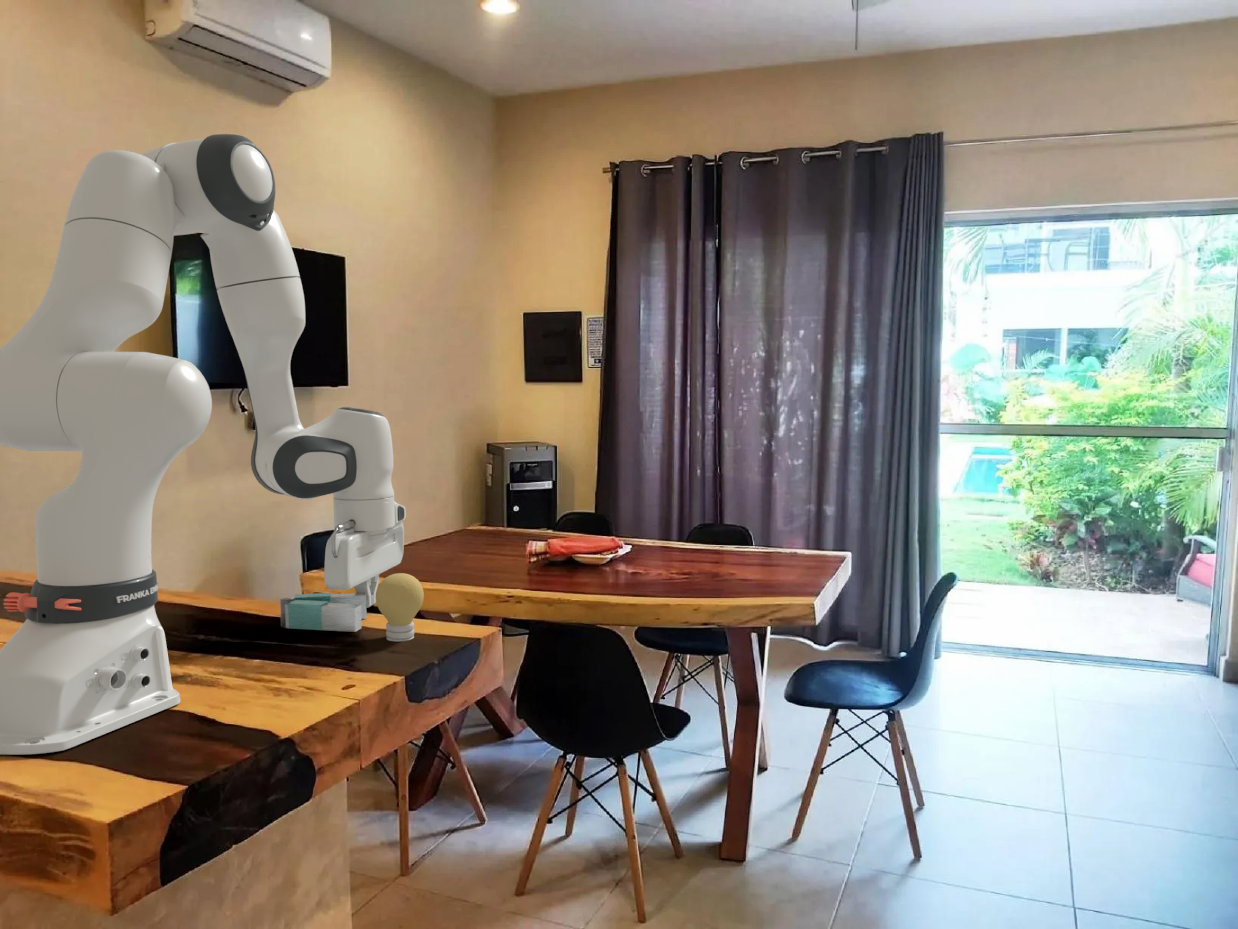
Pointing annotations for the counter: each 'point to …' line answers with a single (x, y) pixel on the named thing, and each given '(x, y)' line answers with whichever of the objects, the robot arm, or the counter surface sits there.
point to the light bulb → (399, 604)
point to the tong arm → (336, 599)
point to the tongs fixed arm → (320, 615)
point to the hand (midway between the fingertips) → (367, 605)
